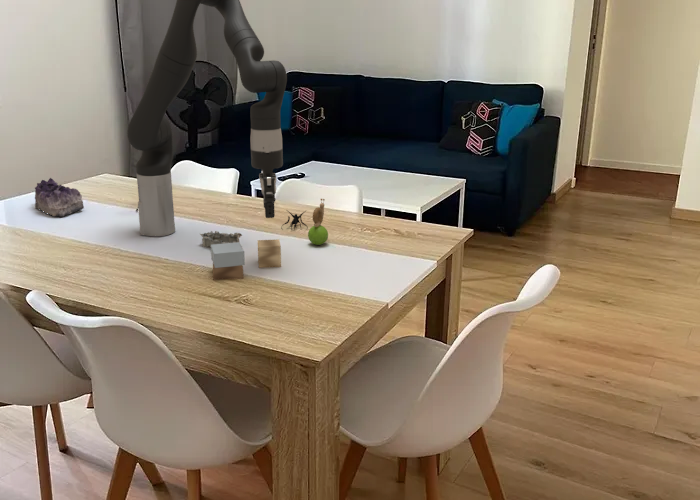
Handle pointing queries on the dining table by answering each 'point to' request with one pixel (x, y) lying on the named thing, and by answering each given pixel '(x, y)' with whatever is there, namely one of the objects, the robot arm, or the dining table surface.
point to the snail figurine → (318, 227)
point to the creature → (295, 220)
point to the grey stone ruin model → (219, 238)
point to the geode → (57, 198)
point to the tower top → (227, 255)
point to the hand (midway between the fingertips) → (269, 212)
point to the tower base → (228, 272)
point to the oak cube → (269, 253)
